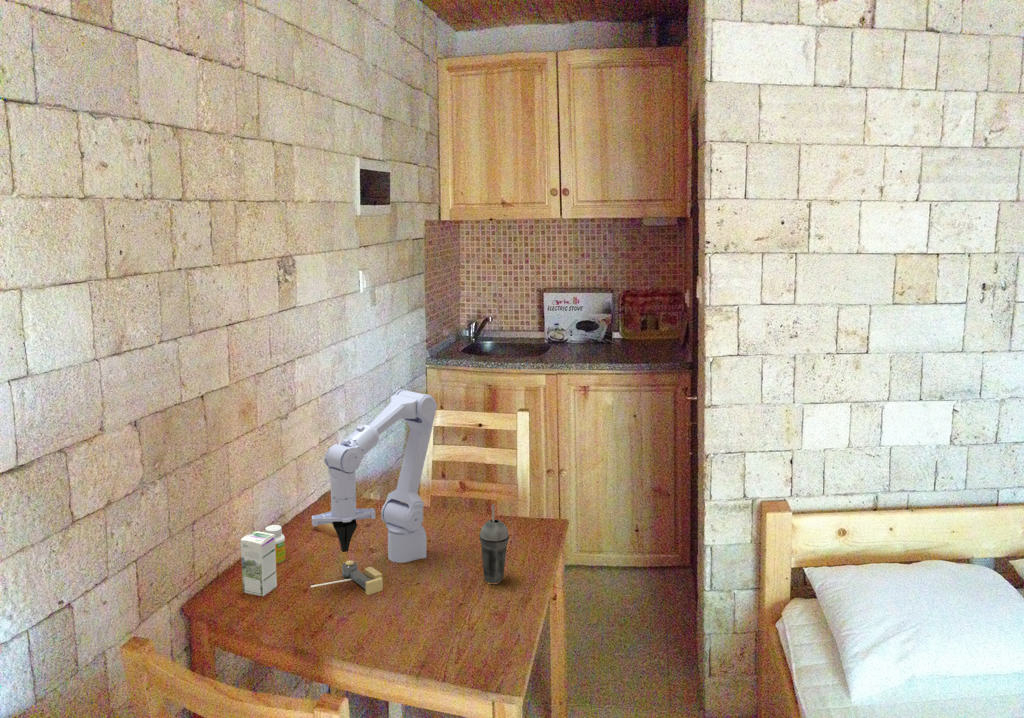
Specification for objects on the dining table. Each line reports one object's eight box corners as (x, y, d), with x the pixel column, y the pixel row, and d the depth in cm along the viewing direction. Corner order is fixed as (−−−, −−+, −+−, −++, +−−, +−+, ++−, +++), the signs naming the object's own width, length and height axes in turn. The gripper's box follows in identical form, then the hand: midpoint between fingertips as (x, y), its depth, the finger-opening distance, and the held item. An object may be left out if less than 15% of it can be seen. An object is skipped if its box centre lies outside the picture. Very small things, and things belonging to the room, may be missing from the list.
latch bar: (339, 574, 202) (339, 564, 202) (352, 570, 204) (352, 560, 204) (362, 592, 193) (362, 582, 192) (376, 588, 195) (376, 578, 195)
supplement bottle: (279, 569, 207) (278, 533, 205) (259, 567, 208) (258, 530, 206) (289, 560, 212) (288, 524, 210) (269, 558, 213) (268, 522, 211)
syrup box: (278, 590, 196) (276, 532, 193) (262, 602, 190) (260, 542, 187) (257, 586, 197) (255, 529, 195) (241, 597, 192) (239, 538, 189)
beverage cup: (513, 577, 205) (515, 501, 201) (500, 589, 199) (502, 510, 195) (486, 571, 208) (488, 495, 204) (473, 583, 202) (474, 505, 198)
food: (308, 531, 231) (307, 514, 230) (324, 525, 235) (323, 509, 234) (340, 545, 222) (340, 527, 221) (356, 539, 226) (356, 522, 225)
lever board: (368, 567, 209) (367, 550, 208) (390, 599, 193) (390, 581, 192) (304, 578, 202) (303, 560, 201) (321, 613, 186) (321, 594, 185)
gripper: (314, 505, 186) (316, 561, 189) (378, 497, 192) (378, 552, 195) (309, 494, 193) (311, 549, 196) (371, 487, 198) (372, 540, 201)
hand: (344, 550), depth 196 cm, fingers closed
